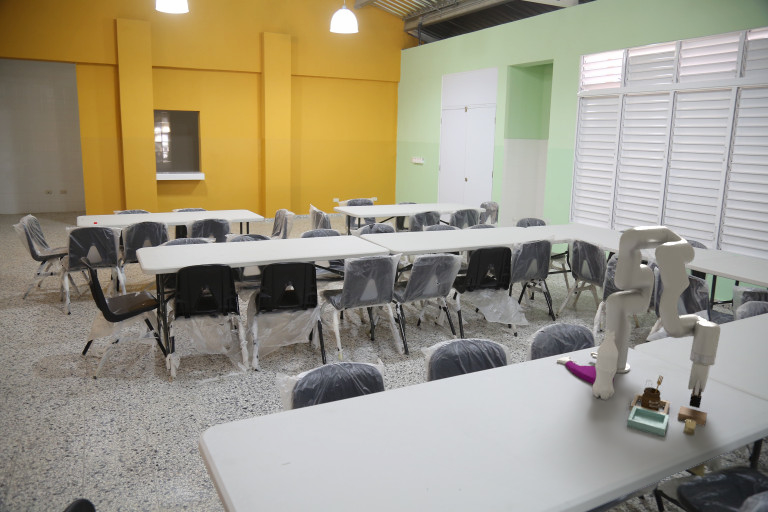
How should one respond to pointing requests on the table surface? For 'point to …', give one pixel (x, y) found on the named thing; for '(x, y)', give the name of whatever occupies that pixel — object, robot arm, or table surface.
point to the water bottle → (606, 366)
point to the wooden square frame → (662, 403)
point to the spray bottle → (580, 370)
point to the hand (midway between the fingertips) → (694, 406)
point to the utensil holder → (651, 396)
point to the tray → (648, 421)
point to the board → (692, 415)
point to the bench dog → (689, 427)
